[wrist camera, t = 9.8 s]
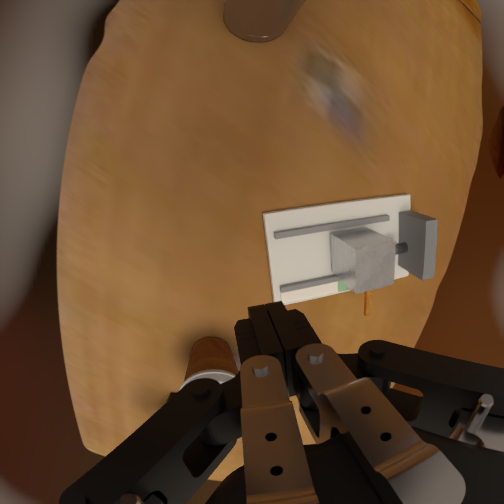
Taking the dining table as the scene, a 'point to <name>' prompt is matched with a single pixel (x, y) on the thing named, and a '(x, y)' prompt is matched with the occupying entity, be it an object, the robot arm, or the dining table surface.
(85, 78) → the dining table surface
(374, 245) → the gauge carriage
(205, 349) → the disposable coffee cup
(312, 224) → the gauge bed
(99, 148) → the dining table surface
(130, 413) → the dining table surface
